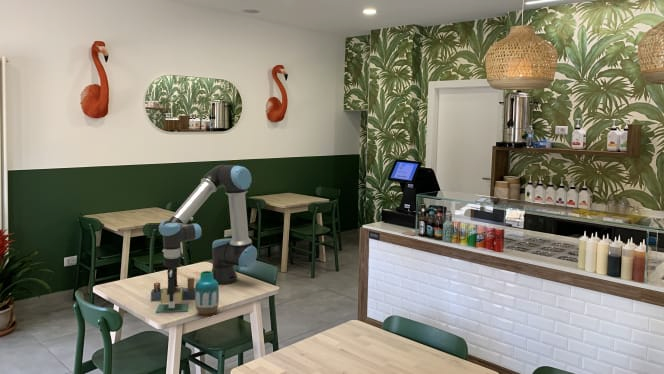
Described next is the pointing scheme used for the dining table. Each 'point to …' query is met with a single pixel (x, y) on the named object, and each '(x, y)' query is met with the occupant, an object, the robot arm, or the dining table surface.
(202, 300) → the vase
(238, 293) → the dining table surface
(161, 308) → the felt pad
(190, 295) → the knobbed metal bar
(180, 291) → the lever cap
